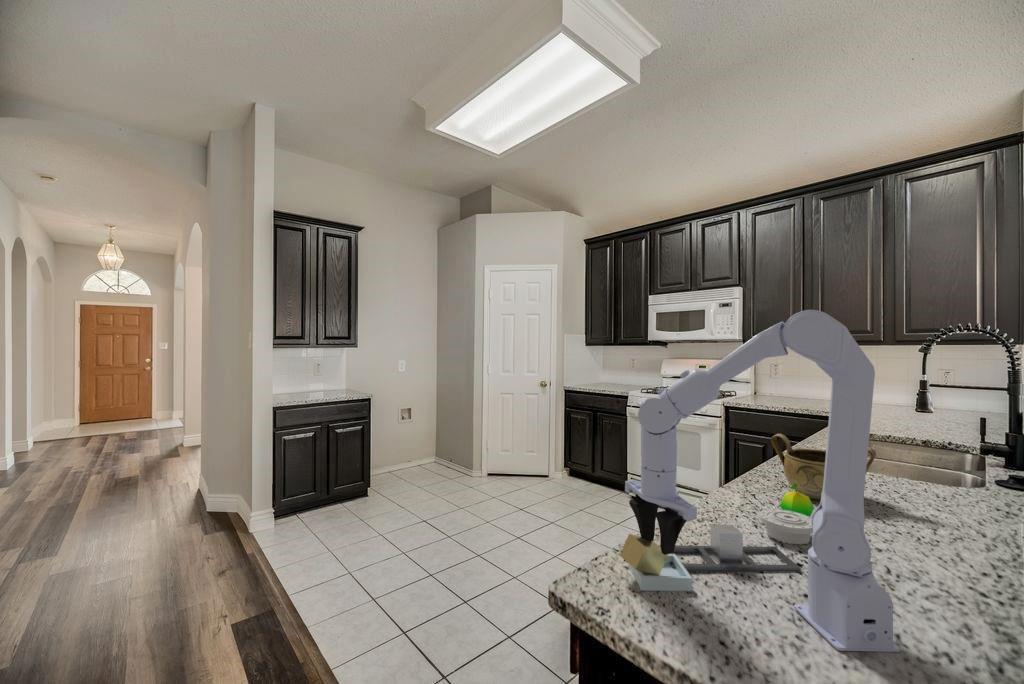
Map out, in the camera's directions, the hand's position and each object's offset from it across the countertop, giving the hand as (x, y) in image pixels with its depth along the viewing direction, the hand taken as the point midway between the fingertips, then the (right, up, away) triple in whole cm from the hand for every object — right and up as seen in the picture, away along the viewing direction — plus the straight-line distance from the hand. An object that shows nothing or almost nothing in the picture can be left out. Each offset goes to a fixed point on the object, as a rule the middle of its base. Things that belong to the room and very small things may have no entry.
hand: (657, 546), depth 76 cm
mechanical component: (+28, -3, +11) cm, 30 cm away
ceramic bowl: (+55, -6, +39) cm, 68 cm away
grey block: (+14, -5, +5) cm, 16 cm away
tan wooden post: (0, -2, +1) cm, 3 cm away
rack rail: (+14, -5, +5) cm, 16 cm away
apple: (+39, -6, +24) cm, 46 cm away
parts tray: (0, -5, 0) cm, 5 cm away
